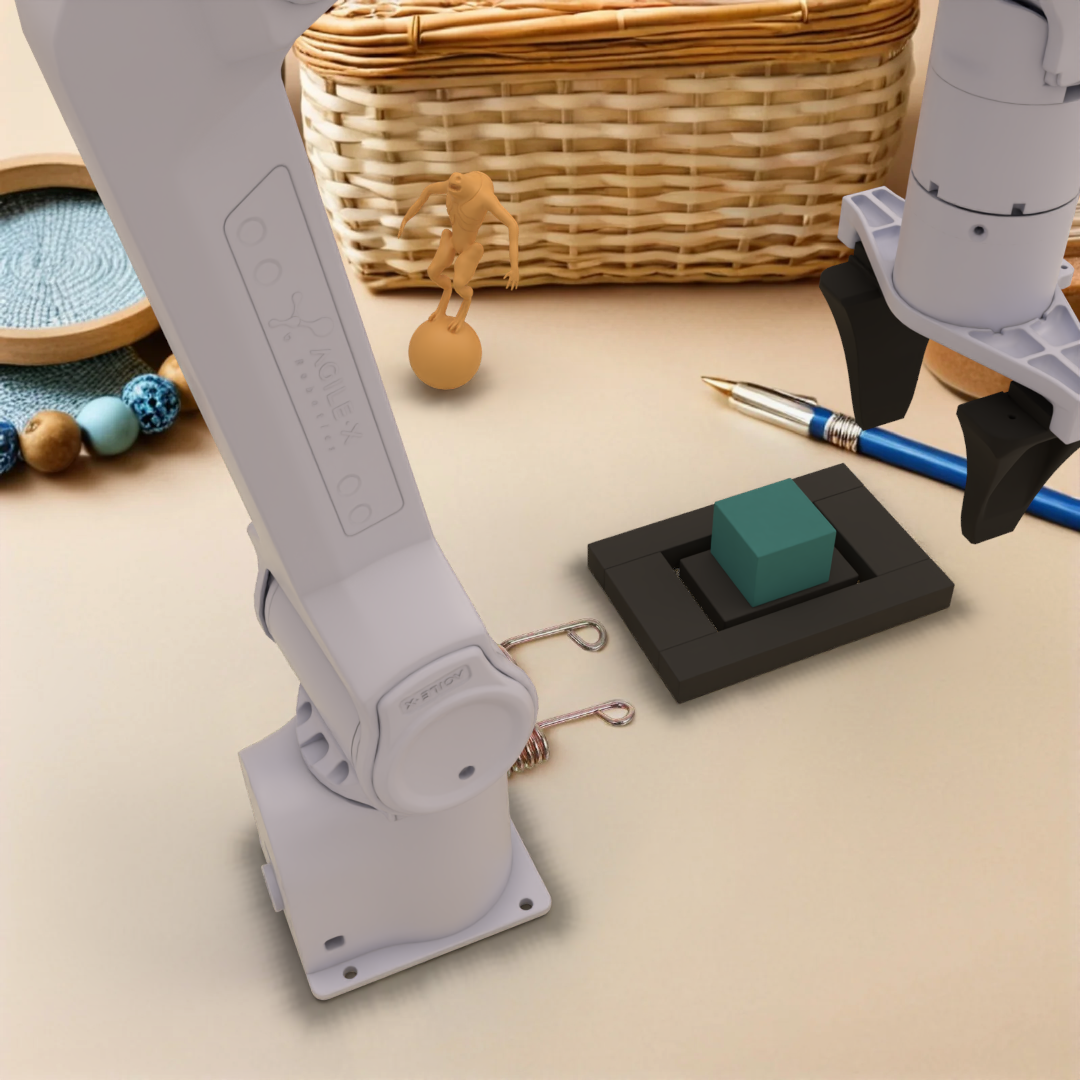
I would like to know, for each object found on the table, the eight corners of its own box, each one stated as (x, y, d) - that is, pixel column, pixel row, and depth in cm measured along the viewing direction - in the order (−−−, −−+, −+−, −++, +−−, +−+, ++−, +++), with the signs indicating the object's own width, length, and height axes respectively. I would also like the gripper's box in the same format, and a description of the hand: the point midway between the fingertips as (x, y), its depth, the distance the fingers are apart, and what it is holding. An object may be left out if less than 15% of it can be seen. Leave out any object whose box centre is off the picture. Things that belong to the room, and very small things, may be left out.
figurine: (368, 370, 81) (343, 177, 72) (442, 321, 84) (426, 131, 76) (479, 429, 77) (466, 231, 68) (552, 375, 80) (548, 180, 72)
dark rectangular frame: (678, 704, 63) (679, 681, 62) (587, 566, 69) (586, 543, 68) (949, 607, 67) (955, 584, 66) (840, 484, 73) (843, 461, 72)
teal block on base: (723, 639, 65) (729, 570, 62) (678, 577, 68) (682, 508, 65) (856, 593, 67) (868, 523, 64) (806, 534, 70) (816, 465, 67)
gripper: (1240, 249, 46) (1130, 557, 55) (967, 64, 56) (913, 353, 65) (1057, 304, 44) (975, 613, 53) (808, 102, 54) (775, 394, 63)
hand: (931, 474), depth 59 cm, fingers open, 7 cm apart
